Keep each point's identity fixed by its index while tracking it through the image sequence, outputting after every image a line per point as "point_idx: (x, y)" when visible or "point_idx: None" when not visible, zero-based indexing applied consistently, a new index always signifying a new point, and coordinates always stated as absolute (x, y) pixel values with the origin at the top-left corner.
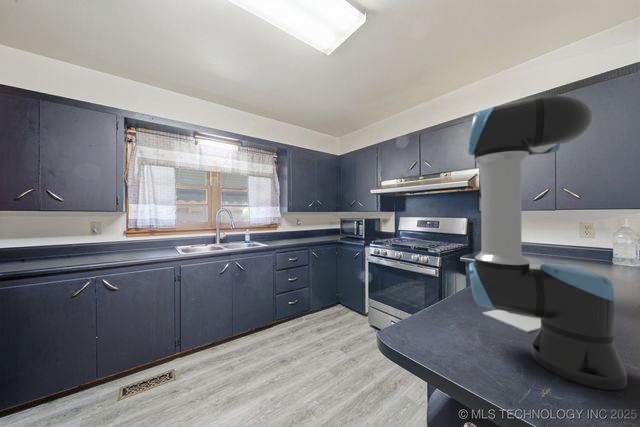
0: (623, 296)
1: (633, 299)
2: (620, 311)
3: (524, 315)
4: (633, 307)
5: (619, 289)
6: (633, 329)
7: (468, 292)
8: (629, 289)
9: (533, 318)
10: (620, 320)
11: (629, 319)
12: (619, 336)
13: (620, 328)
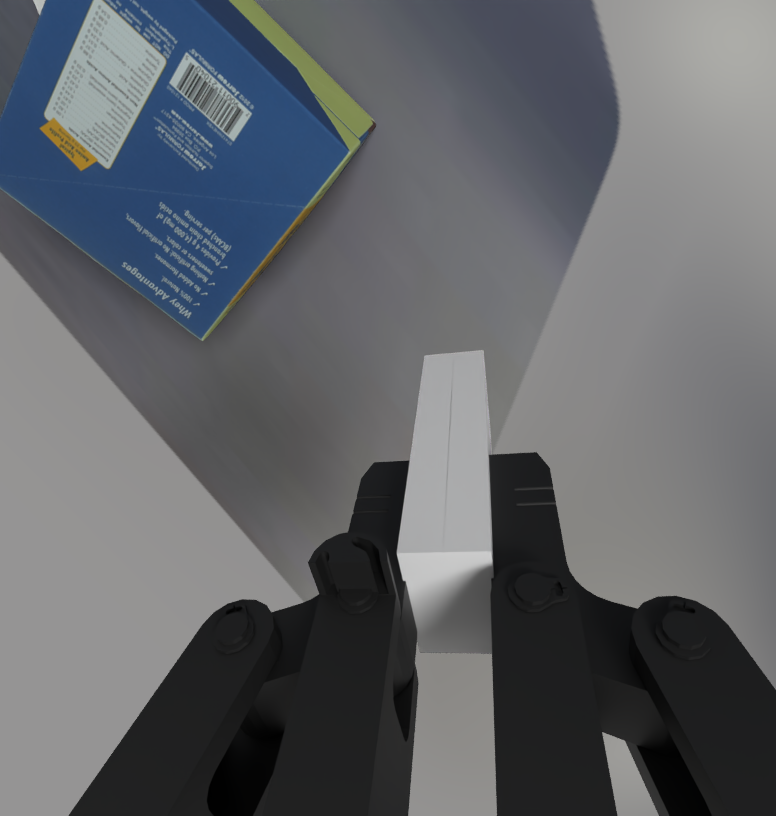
0: None
1: (304, 600)
2: (212, 462)
3: None
4: (243, 529)
5: None
6: (69, 330)
7: (555, 6)
8: None
9: None
10: (138, 377)
11: (148, 411)
12: (2, 218)
13: (71, 299)
